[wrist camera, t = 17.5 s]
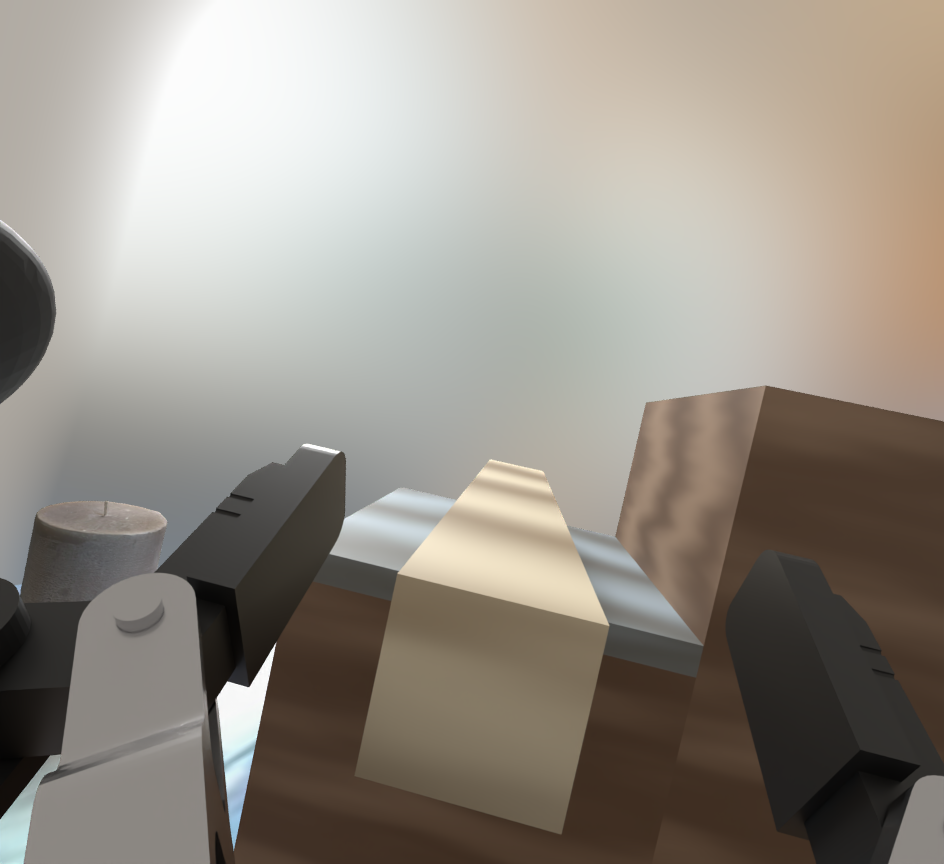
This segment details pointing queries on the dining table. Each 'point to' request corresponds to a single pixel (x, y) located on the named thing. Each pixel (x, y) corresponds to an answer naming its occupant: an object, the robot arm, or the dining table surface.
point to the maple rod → (489, 657)
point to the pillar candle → (89, 549)
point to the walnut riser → (626, 642)
